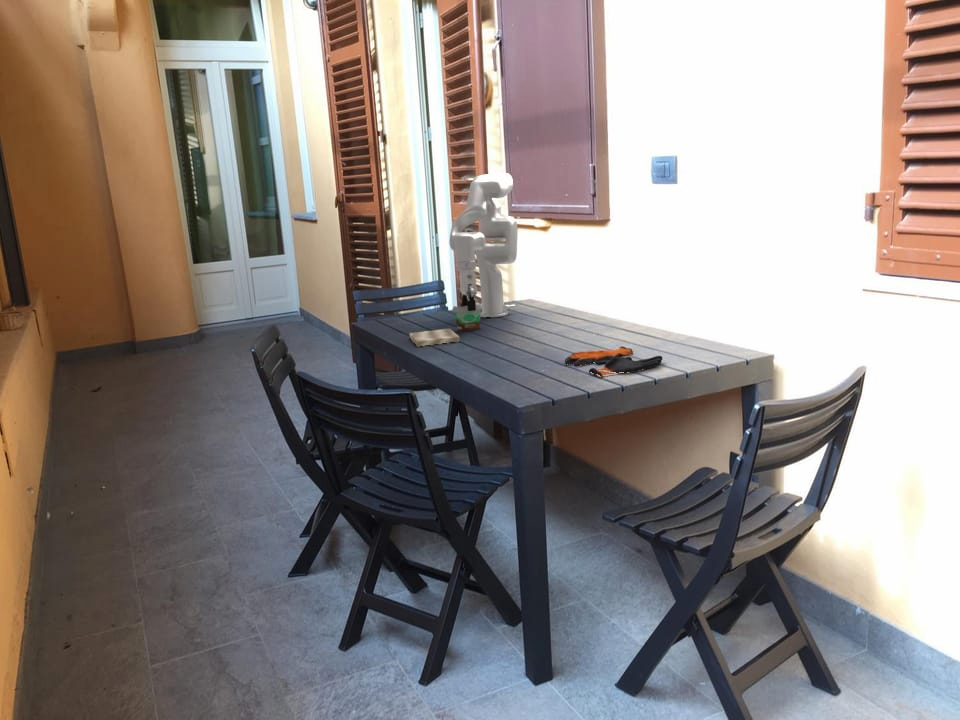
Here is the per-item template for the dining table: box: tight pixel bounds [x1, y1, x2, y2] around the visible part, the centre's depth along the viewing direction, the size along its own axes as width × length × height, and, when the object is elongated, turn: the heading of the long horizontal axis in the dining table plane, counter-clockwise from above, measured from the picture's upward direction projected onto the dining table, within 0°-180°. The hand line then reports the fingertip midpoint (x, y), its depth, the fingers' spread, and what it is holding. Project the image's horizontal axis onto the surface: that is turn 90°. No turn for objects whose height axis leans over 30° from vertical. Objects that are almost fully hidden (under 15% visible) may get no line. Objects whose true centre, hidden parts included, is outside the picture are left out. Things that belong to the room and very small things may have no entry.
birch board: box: [409, 327, 461, 348], centre depth 299 cm, size 16×18×2 cm
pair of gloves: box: [564, 345, 663, 376], centre depth 243 cm, size 27×24×3 cm
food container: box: [452, 302, 482, 332], centre depth 312 cm, size 12×6×10 cm, turn 111°
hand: (469, 309), depth 310 cm, fingers open, 9 cm apart
